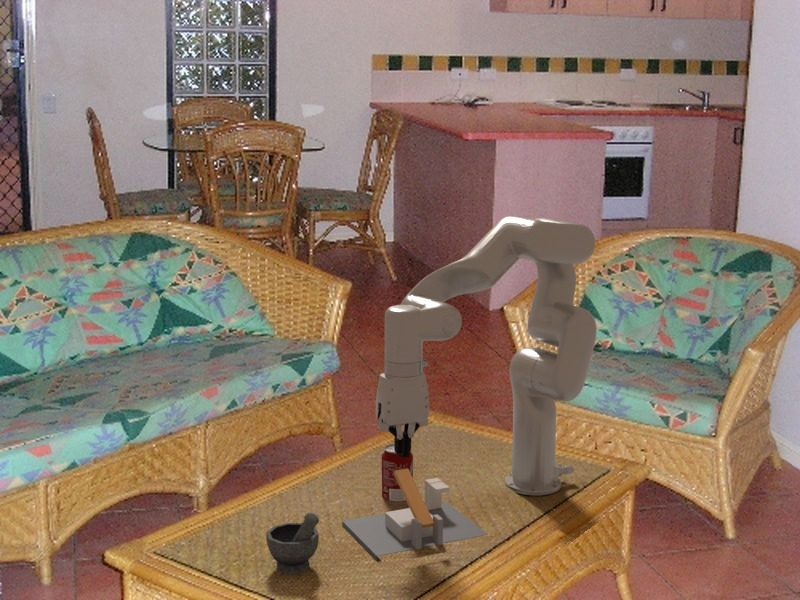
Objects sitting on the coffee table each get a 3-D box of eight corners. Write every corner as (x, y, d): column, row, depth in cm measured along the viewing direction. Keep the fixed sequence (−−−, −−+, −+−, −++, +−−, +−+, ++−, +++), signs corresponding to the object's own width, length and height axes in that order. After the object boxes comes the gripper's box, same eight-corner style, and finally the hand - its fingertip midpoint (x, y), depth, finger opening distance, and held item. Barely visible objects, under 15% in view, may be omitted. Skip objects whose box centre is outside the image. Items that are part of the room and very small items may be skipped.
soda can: (409, 507, 247) (409, 454, 244) (378, 504, 248) (378, 452, 245) (415, 495, 253) (415, 443, 250) (385, 493, 254) (385, 441, 252)
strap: (407, 471, 235) (408, 468, 235) (433, 526, 226) (434, 522, 225) (393, 473, 234) (394, 470, 233) (419, 528, 225) (420, 525, 224)
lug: (437, 504, 245) (437, 477, 244) (449, 513, 240) (449, 486, 239) (424, 506, 244) (424, 479, 242) (436, 516, 239) (436, 489, 237)
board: (446, 507, 247) (447, 478, 245) (488, 540, 230) (489, 510, 229) (342, 526, 237) (341, 496, 235) (378, 562, 220) (377, 531, 219)
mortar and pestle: (256, 568, 218) (255, 509, 216) (291, 551, 225) (289, 493, 223) (300, 585, 211) (299, 524, 209) (334, 567, 219) (333, 508, 216)
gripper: (429, 359, 235) (428, 444, 239) (361, 367, 229) (361, 454, 233) (445, 368, 228) (444, 456, 232) (376, 376, 222) (375, 467, 226)
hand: (402, 455), depth 232 cm, fingers closed
